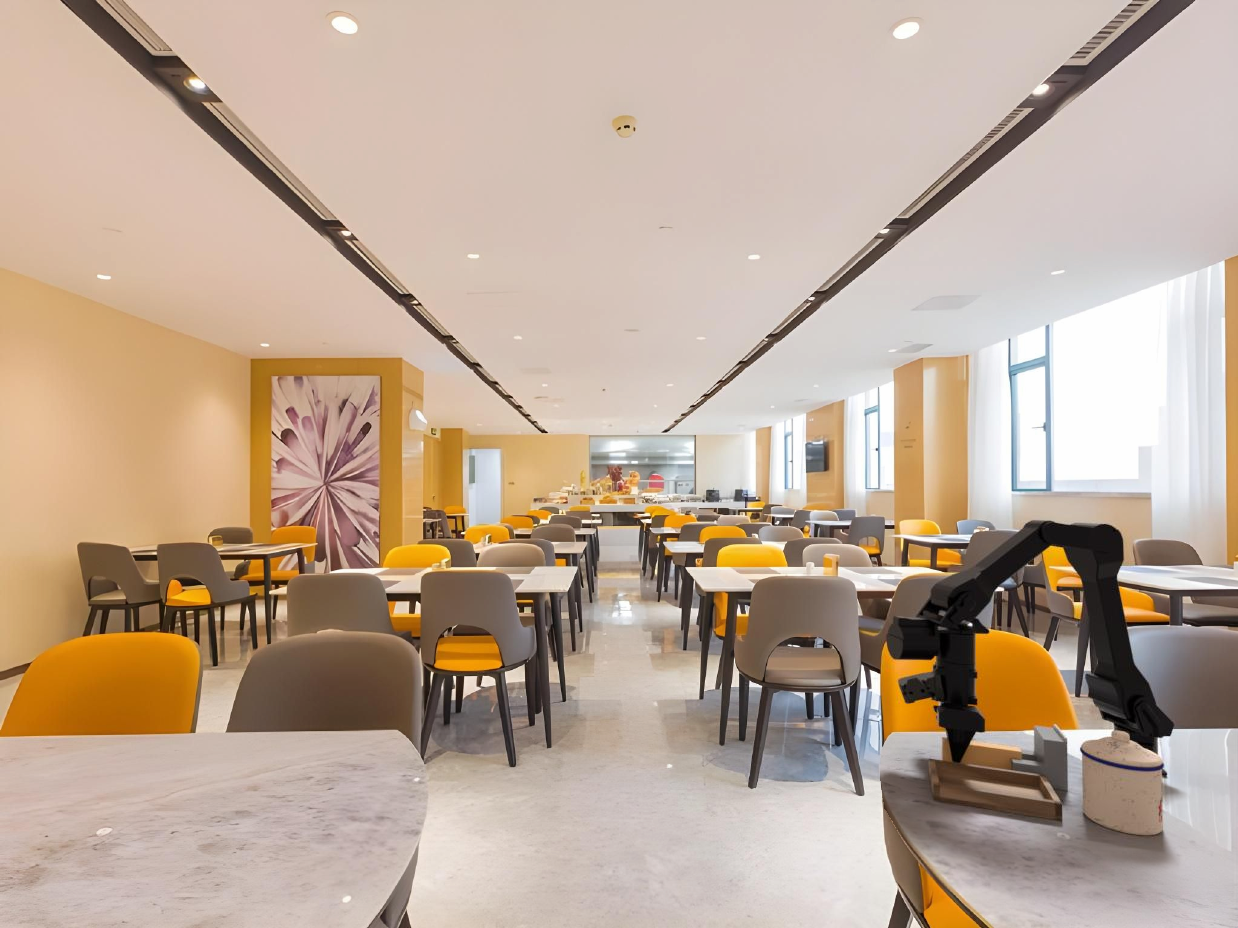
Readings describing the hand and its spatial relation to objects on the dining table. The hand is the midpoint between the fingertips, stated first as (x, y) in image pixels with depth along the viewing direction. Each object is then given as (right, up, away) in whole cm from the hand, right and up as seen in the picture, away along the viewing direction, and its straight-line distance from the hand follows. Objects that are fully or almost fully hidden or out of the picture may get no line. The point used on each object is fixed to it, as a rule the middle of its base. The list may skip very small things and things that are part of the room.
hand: (955, 759), depth 109 cm
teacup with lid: (+14, -1, -16) cm, 21 cm away
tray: (0, -1, -11) cm, 11 cm away
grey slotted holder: (+10, -1, -4) cm, 11 cm away
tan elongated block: (+3, -1, -1) cm, 4 cm away
